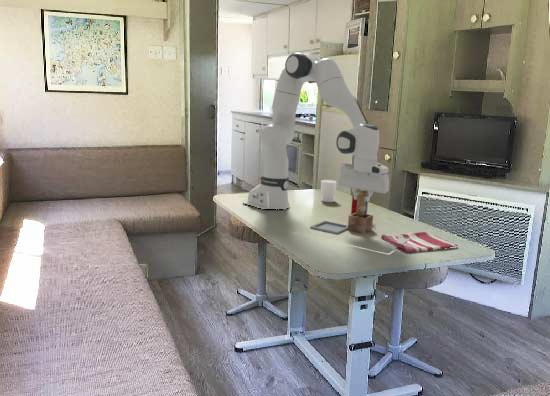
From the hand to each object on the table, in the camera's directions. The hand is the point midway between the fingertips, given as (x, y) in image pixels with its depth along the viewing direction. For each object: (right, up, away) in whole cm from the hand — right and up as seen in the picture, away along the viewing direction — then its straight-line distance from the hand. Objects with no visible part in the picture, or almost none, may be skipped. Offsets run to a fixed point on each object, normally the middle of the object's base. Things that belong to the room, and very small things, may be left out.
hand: (361, 200), depth 200 cm
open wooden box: (0, -12, +3) cm, 13 cm away
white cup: (-8, -1, +55) cm, 55 cm away
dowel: (-1, -8, +2) cm, 8 cm away
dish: (-12, -12, +3) cm, 17 cm away
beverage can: (+2, -9, +20) cm, 22 cm away
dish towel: (+20, -17, -10) cm, 28 cm away
